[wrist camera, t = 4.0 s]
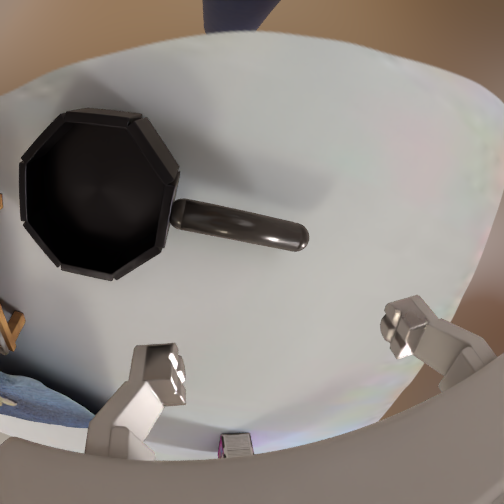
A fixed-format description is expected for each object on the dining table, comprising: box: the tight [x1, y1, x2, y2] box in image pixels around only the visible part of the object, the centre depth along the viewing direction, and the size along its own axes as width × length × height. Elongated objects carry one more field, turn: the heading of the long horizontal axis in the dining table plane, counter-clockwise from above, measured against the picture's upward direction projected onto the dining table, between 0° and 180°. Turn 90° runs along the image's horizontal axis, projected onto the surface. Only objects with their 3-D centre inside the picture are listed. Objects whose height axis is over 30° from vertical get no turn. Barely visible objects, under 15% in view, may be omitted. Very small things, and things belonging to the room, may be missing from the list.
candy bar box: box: [218, 433, 254, 459], centre depth 33 cm, size 11×5×16 cm, turn 171°
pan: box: [19, 108, 309, 281], centre depth 16 cm, size 10×19×3 cm, turn 73°
